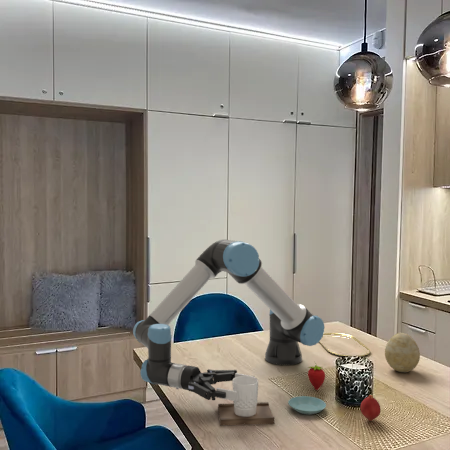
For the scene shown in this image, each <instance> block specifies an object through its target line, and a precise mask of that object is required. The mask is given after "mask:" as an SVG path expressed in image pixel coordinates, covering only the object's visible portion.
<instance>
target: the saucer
mask: <svg viewBox="0 0 450 450" xmlns="http://www.w3.org/2000/svg"><path fill="white" fill-rule="evenodd" d="M287 403H288V405H289V407H291V409H292V410H294V411H296V412H297V413H299V414H302V415H316V414H317V413H320V412H322V411H323V410H324V409H325V408H326V407H327V403H326V402H325V401H324V400H322V399H320V398H318V397H316V396H315V397H314V396H308V395H307V396H306V395H299V396H294V397H292V398H290V399H289V400H288V401H287Z"/></svg>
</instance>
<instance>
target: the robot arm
mask: <svg viewBox="0 0 450 450" xmlns="http://www.w3.org/2000/svg"><path fill="white" fill-rule="evenodd" d="M194 262H195V264H194V265H193V267H191V269H190V270H189V271H188V272H187V273H186V275H184V276H183V278H182V279H181V280H180V281H179V282H178V283H177V284H176V285H175V287H174V288H173V289H172V290H171V291H170V292H169V293H168V295H166V297H164V299H162V301H161V302H160V303H159V304H158V305H157V306H156V308H155V309H153V311H152V312H151V313H149V315H148V316H147V317H146V318H145V319H142V320H140V321H137V322H136V323H135V325H134V326H133V329H132V333H133V336H134V338H135V339H136V340H137V342H138V343H140V344H142V345H143V346H144V347H146V348H147V350H148V351H147V353H148V357H147V359H145V360H144V361H143V362H142V364H141V369H140V378H141V379H142V380H143V381H144V382H146V383H150V384H153V385H160V386H165V387H170V388H175V389H176V390H179V389H181V390H184V391H188V392H191V393H194V394H196V395H198V396H199V397H202V398H204V399H205V400H207V401H210V400H211V401H216V399H222V400H227V401H233V402H234V401H237V391H233V389H232V390H231V389H227V388H221V387H216V388H215V387H214V386H213V385H216V384H217V383H223V382H232V380H233V378H235V377H238V376H252V377H255V378H256V376H255V375H250V374H245V373H244V374H243V373H239V372H238V370H237V369H209V368H208V369H206V371H205V372H201V370H200V368H199V366H195V365H194V366H193V365H187V364H184V363H183V364H182V363H176V362H172V330H171V329H172V328H171V326H170V324H171V323H172V322H173V320H174V319H175V318H176V317H177V316H178V315H179V314H180V313H181V312H182V311H183V310H184V309H185V307H186V306H187V305H188V304H189V303H190V302H191V301H192V299H193V298H194V297H195V296H196V295H197V294H198V293H199V292H200V291H201V290H202V289H203V287H204V286H205V285H206V284H207V282H208V281H209V280H210V279H214V278H216V277H217V276H218V274H220V273H222V272H225V273H227V274H228V275H230V277H232V279H234V281H236V283H238V284H239V285H244V284H245V285H246V287H247V288H248V289H249V290H251V292H253V294H254V295H255V296H257V298H258V299H259V300H260V301H262V303H263V304H264V305H266V307H267V308H269V314H268V315H269V342H268V344H267V346H266V347H267V348H266V351H265V354H264V355H265V356H264V357H265V358H264V360H265V361H266V362H268V363H270V364H273V365H278V366H293V365H294V366H295V365H297V364H300V363H302V362H303V354H302V351H301V348H300V345H299V343H300V344H302V345H303V346H307V347H312V346H316V345H317V344H319V343H320V342H319V341H321V340H322V339H323V338H324V337H323V334H324V333H325V323H324V321H323V319H322V318H321V317H320V316H318V315H314V314H313V313H312V312H311V311H310V310H308V309H307V308H306V306H305V305H303V304H302V303H297V302H296V301H295V300H293V298H292V297H290V295H289V294H288V293H287V292H286V291H285V290H284V289H283V288H282V287H281V286H280V285H279V284H278V283H277V281H276V280H274V279H273V277H272V276H270V274H269V273H268V272H267V271H266V270H265V269H264V268H263V267H262V266H263V262H262V260H261V259H260V255H259V253H258V250H257V249H256V248H255V247H254V246H253V245H252V244H250V243H248V242H245V241H241V240H240V241H238V240H231V239H230V240H229V239H219V240H217V241H215V242H213V243H212V244H211V245H209V246H208V247H207V248H206V249H205V250H204V251H202V253H201V254H200V255H199V256H198V257H197V258H196V259H195V261H194Z"/></svg>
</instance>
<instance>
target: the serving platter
mask: <svg viewBox="0 0 450 450" xmlns="http://www.w3.org/2000/svg"><path fill="white" fill-rule="evenodd" d="M331 334H334V335H342V336H347V337H350V338H352V339H354V340H355V341H357V342H358V343H359V344H360V345H362V346H363V347H365V348H366V349H367V350H369V353H367V352H366V353H365V354H360V355H357V356H364V355H367V356H369V354H370V353H371V349H370V348H369V347H368V346H366V345H365V344H364V343H363V342H361V340H359V338H357V337H355V336H354V335H350V334H345V333H339V332H324V334H323V335H331ZM320 341H321V340H320ZM320 341H319V342H318V343H320V344H321V346H323V348H324V349H325V350H326V351H327V352H328V353H329V352H330V353H329V354H331V353H332V355H333V354H335V355H334V356H336V355H339V356H338V357H340V356H351V355H349V354H348V355H347V354H340V353H336V352H333V351H331V350H330V349H329V348H327V346H326V345H325V344H324V343H323V342H322V341H321V342H322V343H323V344H324V345H325V346H324V345H323V344H322V343H321V342H320ZM364 357H365V356H364Z"/></svg>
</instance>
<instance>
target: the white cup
mask: <svg viewBox="0 0 450 450" xmlns="http://www.w3.org/2000/svg"><path fill="white" fill-rule="evenodd" d="M252 376H253V375H251V376H238V377H235V378H233V380H232V381H231V382H232V390H233V391H237V401H233V403H234V412H235V414H236V415H238V416H241V417H250V416H253V415H255V414H256V411H257V403H258V395H259V393H258V391H259V379H258V378H257V377H256V376H255V377H252Z"/></svg>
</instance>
